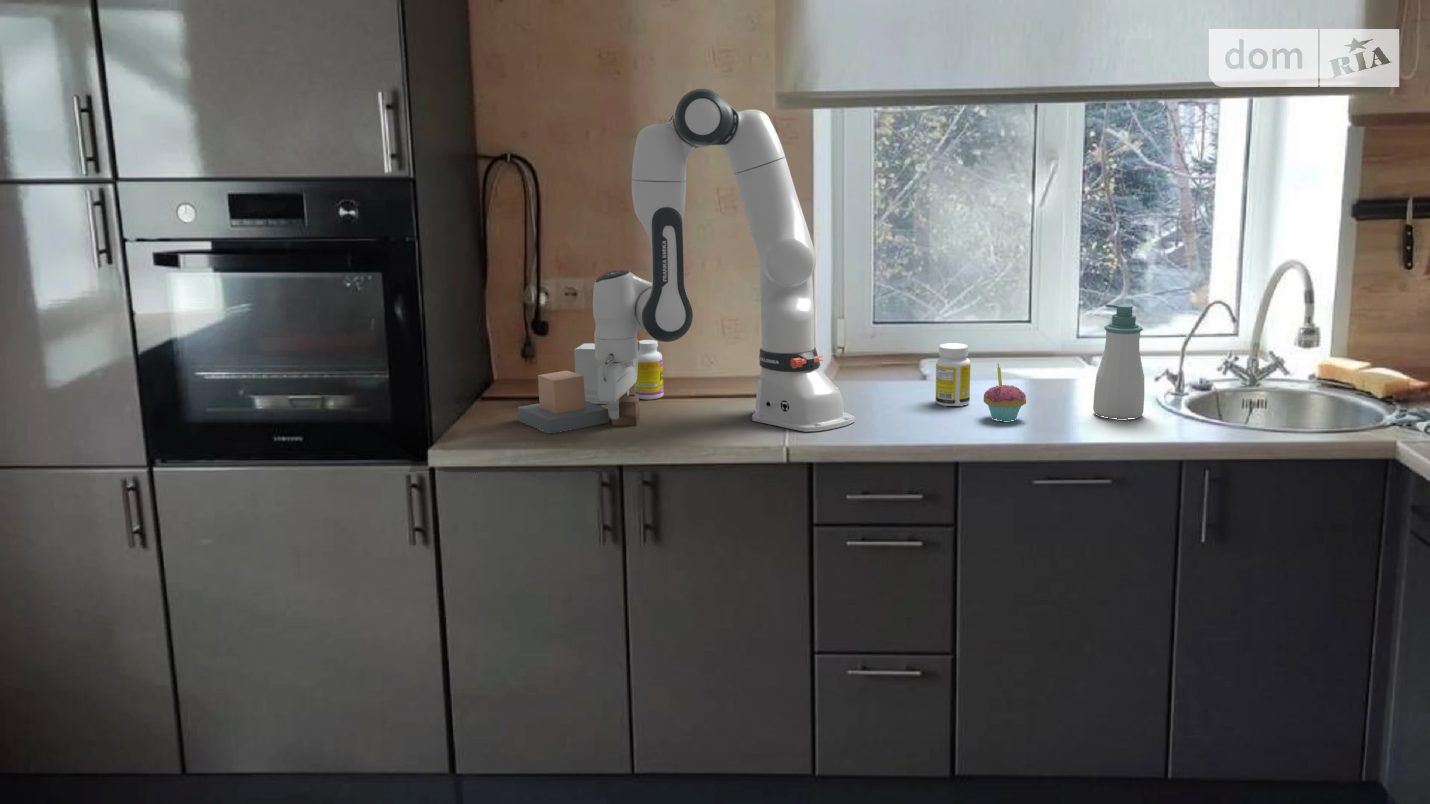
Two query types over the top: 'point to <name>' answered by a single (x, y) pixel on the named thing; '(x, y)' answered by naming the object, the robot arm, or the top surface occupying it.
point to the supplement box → (588, 370)
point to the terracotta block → (561, 391)
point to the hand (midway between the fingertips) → (619, 414)
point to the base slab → (562, 417)
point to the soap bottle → (1120, 369)
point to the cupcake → (1004, 400)
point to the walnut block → (628, 411)
